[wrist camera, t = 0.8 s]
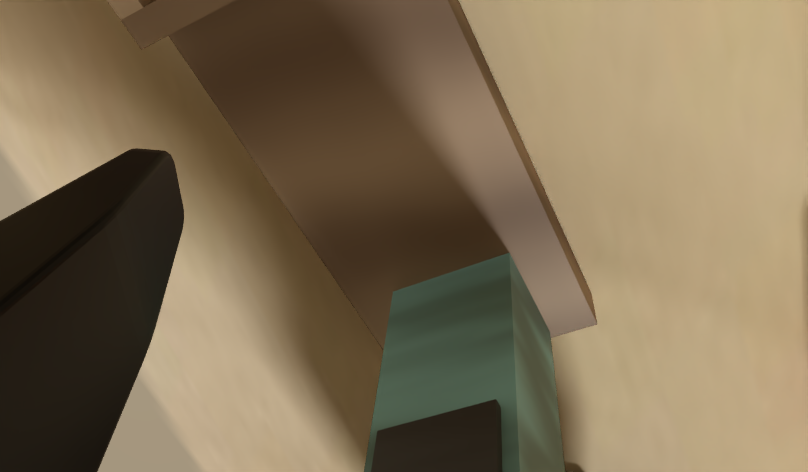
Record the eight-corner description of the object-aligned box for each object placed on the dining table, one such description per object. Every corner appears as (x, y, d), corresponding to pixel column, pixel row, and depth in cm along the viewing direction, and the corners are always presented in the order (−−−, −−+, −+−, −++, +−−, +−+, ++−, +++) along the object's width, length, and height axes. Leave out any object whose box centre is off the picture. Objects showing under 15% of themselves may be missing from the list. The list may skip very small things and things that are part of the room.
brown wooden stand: (591, 294, 25) (678, 756, 14) (407, 350, 27) (354, 784, 16) (221, -521, 14) (-738, -1415, 3) (-31, -315, 16) (-1101, -393, 5)
